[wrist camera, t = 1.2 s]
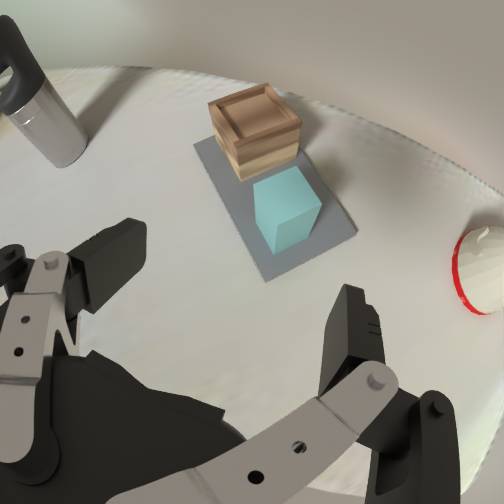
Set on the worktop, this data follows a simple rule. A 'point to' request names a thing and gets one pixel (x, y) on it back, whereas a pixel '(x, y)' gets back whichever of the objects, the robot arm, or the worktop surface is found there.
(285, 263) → the baseplate
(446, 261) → the worktop surface
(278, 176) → the teal brick
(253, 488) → the robot arm
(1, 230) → the worktop surface
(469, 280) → the kitchen timer
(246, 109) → the wooden crate
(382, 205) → the worktop surface
